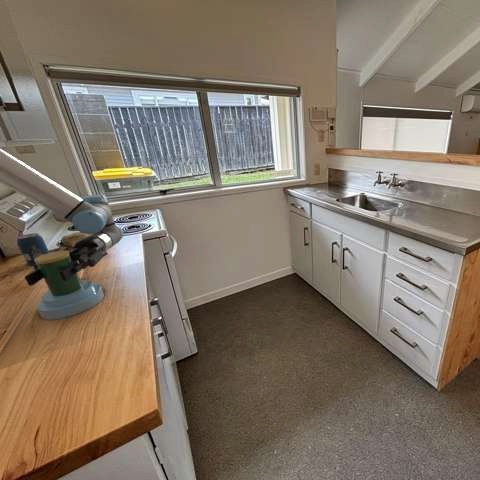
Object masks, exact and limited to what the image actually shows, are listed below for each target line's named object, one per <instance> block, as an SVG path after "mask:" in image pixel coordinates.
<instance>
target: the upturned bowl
mask: <svg viewBox="0 0 480 480" xmlns="http://www.w3.org/2000/svg"><path fill="white" fill-rule="evenodd" d="M80 281H81V283H82V287H81V288H80V289H79V290H77V291H75V292H73V293H70V294H67V295H63V296H53V295H52V294H51V292H50V290H49V289H48V290H47V291H45V292H44V293H43V294H42V295H41V297H40V301H38V303H37V304H36V310H37V311H38V313H39V315H40V317H41V318H42V319H44V320H49V321H52V320H60V319H65V318H69V317H72V316H76V315H78V314H81V313H83V312H85V311H87V310H90V309H91V308H93V307H95V306H96V305H98V304H99V303H100V302H101V301H102V300H103V299H104V297H105V294H104V291H103V289H102V286H101V285H100V284H98V283H93V282H92V281H91V280H88V279H87V280H86V279H80Z"/></svg>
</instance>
